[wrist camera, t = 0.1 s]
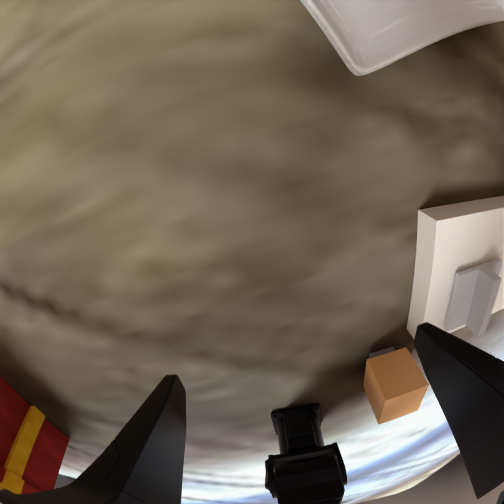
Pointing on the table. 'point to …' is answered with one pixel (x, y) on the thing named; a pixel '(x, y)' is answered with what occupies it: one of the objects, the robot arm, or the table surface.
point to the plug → (393, 383)
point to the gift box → (27, 445)
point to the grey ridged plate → (474, 297)
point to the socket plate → (453, 255)
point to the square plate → (395, 26)
